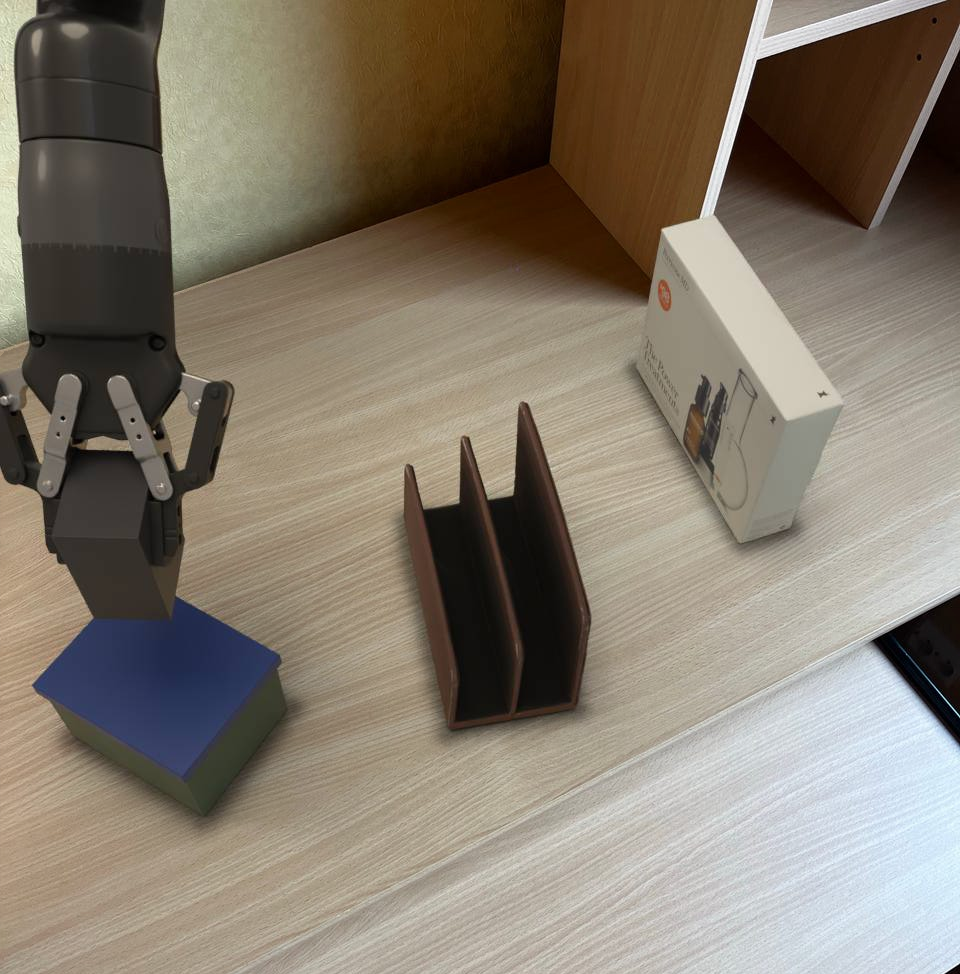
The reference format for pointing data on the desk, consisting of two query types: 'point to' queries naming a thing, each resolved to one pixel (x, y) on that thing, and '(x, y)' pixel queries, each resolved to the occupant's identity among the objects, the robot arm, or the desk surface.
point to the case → (113, 538)
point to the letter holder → (500, 591)
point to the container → (169, 699)
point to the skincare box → (733, 379)
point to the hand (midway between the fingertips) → (115, 561)
